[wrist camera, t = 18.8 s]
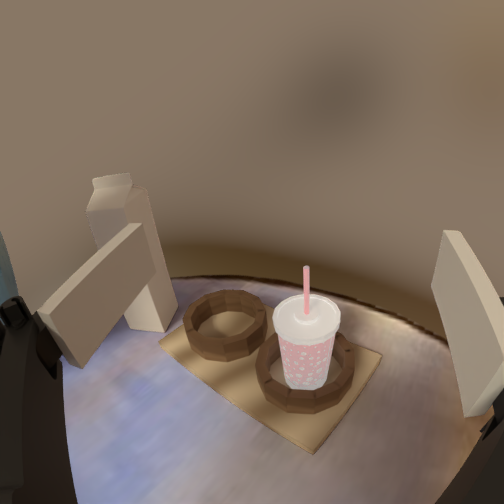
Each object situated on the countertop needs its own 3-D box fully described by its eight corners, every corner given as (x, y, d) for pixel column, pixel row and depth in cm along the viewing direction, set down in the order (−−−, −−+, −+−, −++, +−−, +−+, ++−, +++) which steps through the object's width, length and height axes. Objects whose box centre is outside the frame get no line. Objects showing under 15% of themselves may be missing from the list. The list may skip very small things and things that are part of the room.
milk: (145, 304, 48) (104, 171, 37) (179, 306, 47) (142, 164, 36) (129, 330, 43) (77, 186, 32) (165, 333, 41) (116, 179, 31)
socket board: (161, 347, 39) (151, 324, 37) (233, 295, 48) (229, 272, 46) (313, 454, 24) (315, 437, 22) (380, 362, 33) (386, 337, 31)
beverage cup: (303, 347, 35) (301, 241, 28) (345, 371, 31) (358, 263, 24) (265, 377, 32) (252, 271, 25) (308, 408, 28) (312, 301, 21)
